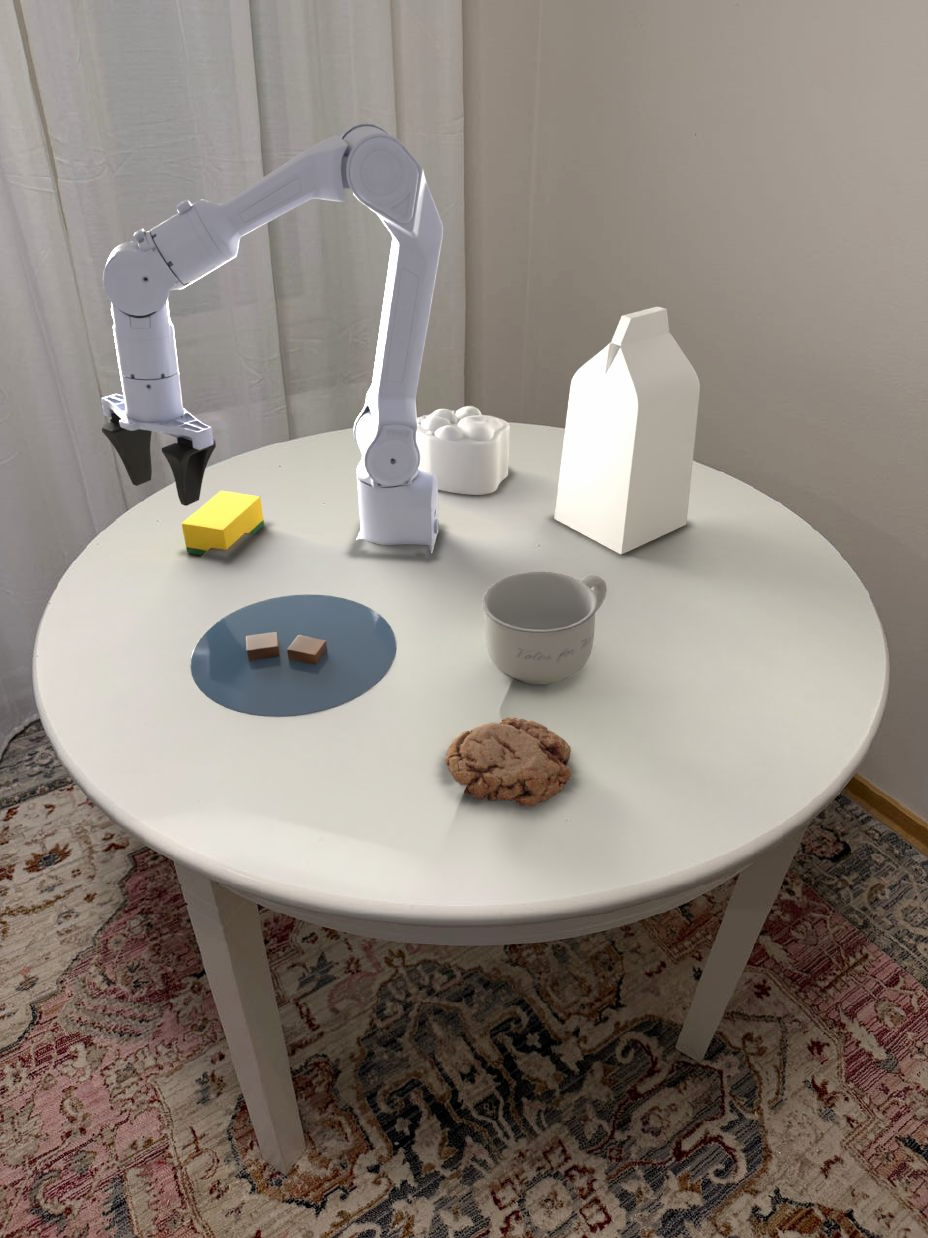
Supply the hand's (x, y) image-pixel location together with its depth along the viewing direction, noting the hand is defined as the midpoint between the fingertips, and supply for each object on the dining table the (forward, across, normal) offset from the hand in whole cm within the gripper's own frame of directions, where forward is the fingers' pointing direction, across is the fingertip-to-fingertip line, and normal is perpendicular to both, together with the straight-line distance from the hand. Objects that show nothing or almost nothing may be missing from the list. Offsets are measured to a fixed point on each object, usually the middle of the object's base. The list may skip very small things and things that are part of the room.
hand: (165, 491), depth 97 cm
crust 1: (+7, +22, -8) cm, 24 cm away
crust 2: (+7, +26, -6) cm, 27 cm away
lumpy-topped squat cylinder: (+7, +15, +38) cm, 41 cm away
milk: (+6, +39, +38) cm, 55 cm away
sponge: (+9, 0, +8) cm, 12 cm away
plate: (+9, +24, -6) cm, 26 cm away
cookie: (+8, +50, -8) cm, 51 cm away
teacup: (+7, +45, +7) cm, 46 cm away
